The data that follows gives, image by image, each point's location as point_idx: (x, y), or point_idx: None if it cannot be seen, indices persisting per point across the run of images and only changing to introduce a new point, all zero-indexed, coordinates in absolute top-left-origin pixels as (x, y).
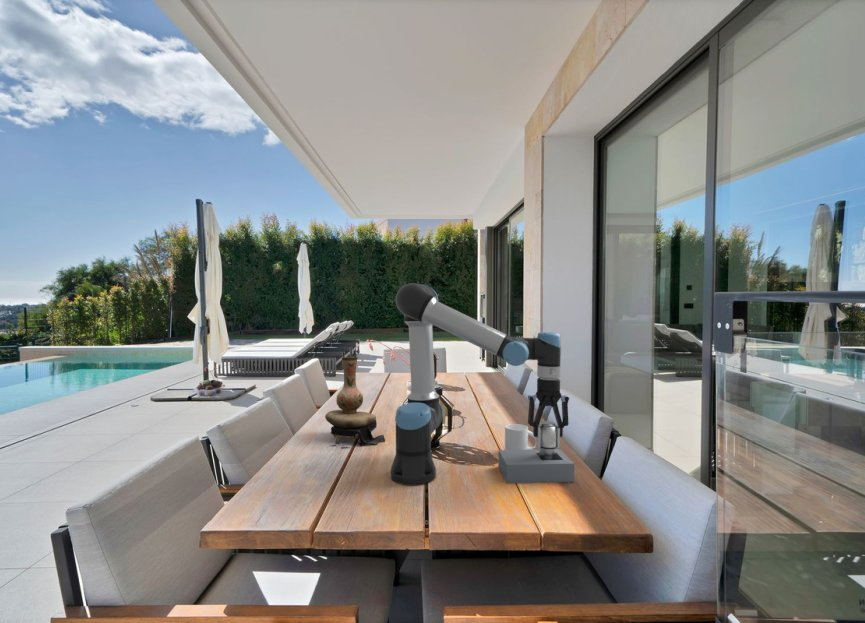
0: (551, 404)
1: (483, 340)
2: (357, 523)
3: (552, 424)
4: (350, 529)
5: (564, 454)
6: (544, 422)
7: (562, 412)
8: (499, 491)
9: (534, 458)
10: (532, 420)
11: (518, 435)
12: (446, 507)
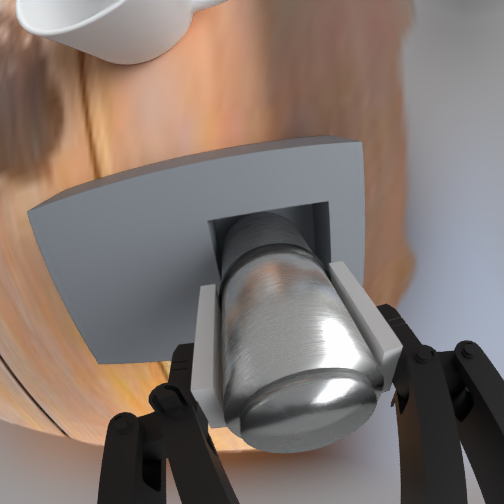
0: None
1: None
2: (5, 414)
3: (341, 431)
4: (10, 421)
5: (361, 228)
6: (283, 410)
7: (494, 438)
8: None
9: (195, 303)
10: (157, 484)
11: (97, 37)
12: (55, 404)
